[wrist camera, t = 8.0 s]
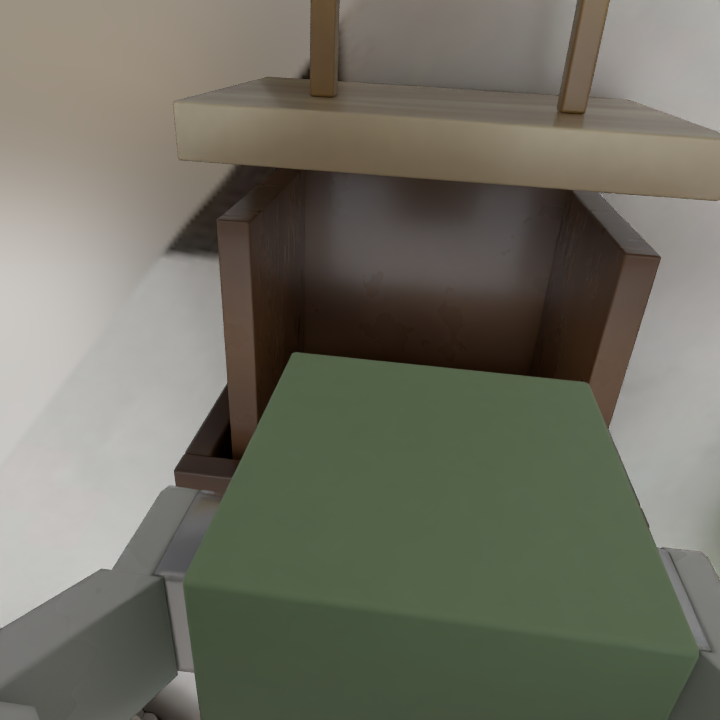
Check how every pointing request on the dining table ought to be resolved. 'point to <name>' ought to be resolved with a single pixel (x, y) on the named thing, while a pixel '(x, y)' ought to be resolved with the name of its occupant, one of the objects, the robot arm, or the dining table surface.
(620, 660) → the block
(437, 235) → the drawer
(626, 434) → the dining table surface
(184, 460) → the cabinet
